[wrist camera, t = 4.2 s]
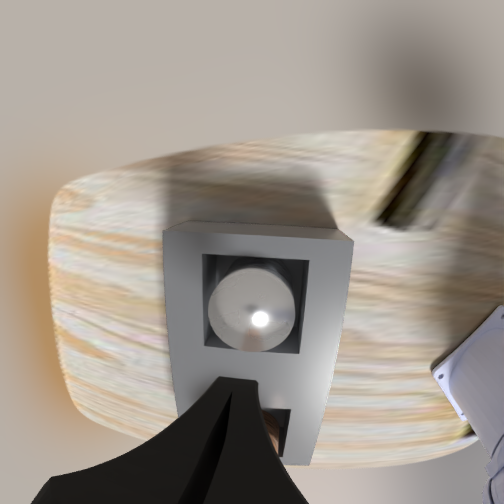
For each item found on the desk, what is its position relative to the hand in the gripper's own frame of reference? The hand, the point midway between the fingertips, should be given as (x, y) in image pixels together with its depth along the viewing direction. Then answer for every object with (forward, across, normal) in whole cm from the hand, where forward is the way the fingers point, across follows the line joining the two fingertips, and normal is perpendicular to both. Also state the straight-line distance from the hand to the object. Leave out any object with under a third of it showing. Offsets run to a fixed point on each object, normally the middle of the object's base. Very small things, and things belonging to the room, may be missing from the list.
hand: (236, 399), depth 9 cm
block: (+9, 0, +3) cm, 10 cm away
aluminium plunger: (+8, 0, -1) cm, 9 cm away
